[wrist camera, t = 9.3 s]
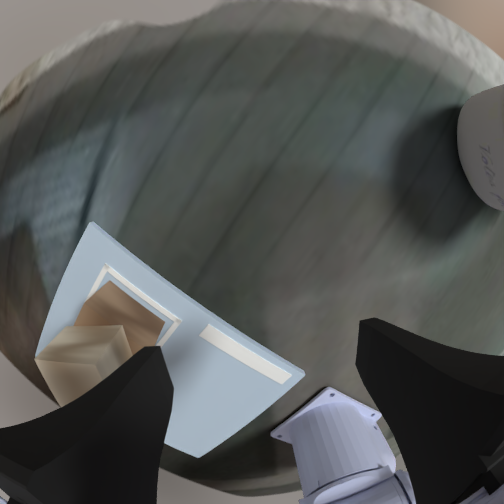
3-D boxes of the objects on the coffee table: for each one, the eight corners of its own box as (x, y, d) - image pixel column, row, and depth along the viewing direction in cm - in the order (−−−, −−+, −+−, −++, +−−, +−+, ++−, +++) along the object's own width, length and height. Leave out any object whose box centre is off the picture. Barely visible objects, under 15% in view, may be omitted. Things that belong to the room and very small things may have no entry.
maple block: (122, 325, 14) (95, 364, 10) (143, 383, 15) (127, 426, 11) (66, 326, 14) (34, 359, 10) (89, 380, 15) (67, 416, 11)
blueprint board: (303, 370, 21) (305, 375, 20) (199, 454, 24) (198, 458, 23) (93, 221, 17) (88, 222, 16) (37, 353, 20) (34, 356, 19)
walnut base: (165, 321, 19) (151, 353, 15) (135, 362, 19) (120, 393, 16) (109, 280, 18) (84, 302, 14) (85, 325, 18) (62, 351, 15)
